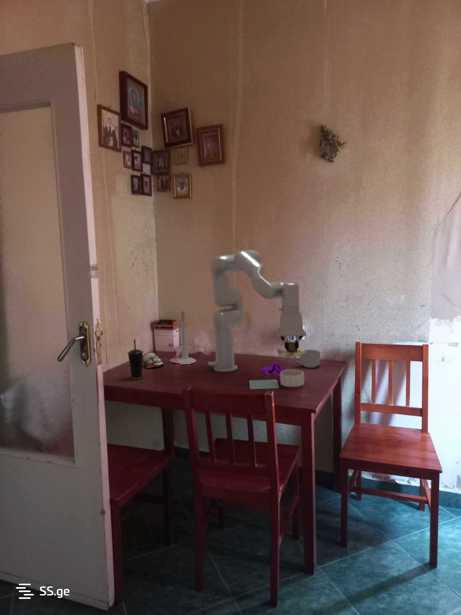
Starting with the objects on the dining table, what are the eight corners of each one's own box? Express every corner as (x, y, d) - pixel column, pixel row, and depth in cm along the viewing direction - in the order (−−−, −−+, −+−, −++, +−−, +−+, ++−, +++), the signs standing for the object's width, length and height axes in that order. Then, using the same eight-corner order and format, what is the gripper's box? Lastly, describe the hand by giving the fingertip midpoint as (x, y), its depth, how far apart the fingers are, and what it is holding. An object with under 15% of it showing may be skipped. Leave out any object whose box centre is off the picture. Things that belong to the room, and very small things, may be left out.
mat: (249, 391, 206) (249, 388, 205) (249, 382, 218) (249, 380, 218) (279, 390, 205) (279, 388, 205) (276, 381, 218) (276, 379, 218)
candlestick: (195, 365, 254) (193, 311, 250) (172, 366, 254) (169, 312, 250) (197, 359, 267) (195, 308, 263) (175, 360, 267) (172, 308, 263)
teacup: (319, 363, 248) (319, 349, 247) (321, 369, 237) (321, 353, 236) (293, 364, 249) (293, 349, 248) (294, 369, 238) (294, 354, 237)
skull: (165, 361, 262) (163, 350, 254) (163, 376, 256) (161, 366, 248) (144, 360, 262) (141, 350, 254) (142, 376, 256) (139, 366, 248)
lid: (279, 357, 204) (279, 346, 203) (277, 351, 216) (277, 340, 215) (307, 356, 203) (306, 345, 203) (303, 350, 215) (303, 339, 215)
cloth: (263, 368, 245) (262, 356, 244) (297, 370, 239) (297, 358, 238) (249, 379, 225) (249, 367, 224) (287, 382, 218) (286, 370, 217)
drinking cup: (147, 376, 234) (145, 338, 232) (139, 381, 227) (137, 341, 225) (134, 376, 237) (131, 337, 234) (126, 380, 230) (123, 340, 227)
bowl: (281, 389, 207) (281, 376, 206) (279, 382, 217) (279, 369, 216) (305, 388, 206) (305, 375, 205) (302, 381, 217) (301, 369, 216)
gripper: (272, 311, 203) (273, 352, 206) (310, 310, 203) (311, 351, 205) (271, 309, 211) (272, 349, 213) (308, 308, 210) (308, 347, 213)
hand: (291, 349), depth 209 cm, fingers closed on lid, 3 cm apart
